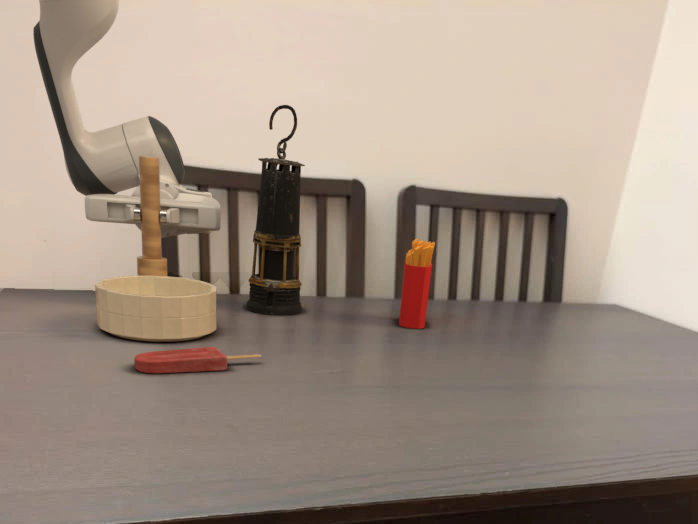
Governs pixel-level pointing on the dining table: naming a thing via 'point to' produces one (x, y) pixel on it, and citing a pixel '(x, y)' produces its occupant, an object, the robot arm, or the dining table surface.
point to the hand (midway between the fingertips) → (150, 216)
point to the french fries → (416, 284)
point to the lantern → (277, 234)
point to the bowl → (156, 307)
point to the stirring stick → (150, 219)
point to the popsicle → (185, 360)
